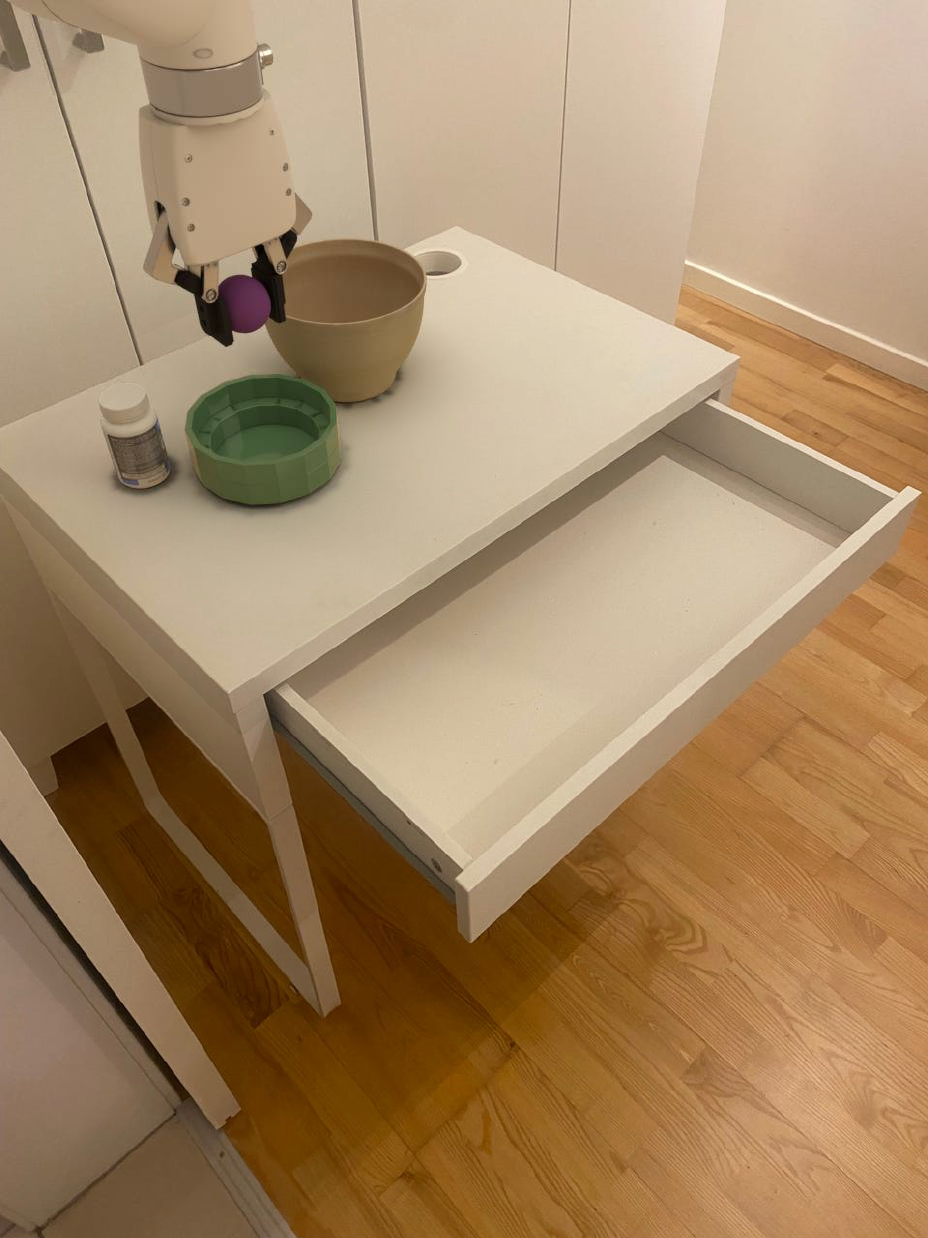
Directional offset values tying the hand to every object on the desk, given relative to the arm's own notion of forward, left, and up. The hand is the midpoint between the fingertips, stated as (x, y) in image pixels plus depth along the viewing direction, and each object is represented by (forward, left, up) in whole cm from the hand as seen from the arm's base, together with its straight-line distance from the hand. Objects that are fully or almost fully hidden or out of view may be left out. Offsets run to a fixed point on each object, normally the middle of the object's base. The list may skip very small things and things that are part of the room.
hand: (245, 324), depth 77 cm
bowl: (-1, +1, -15) cm, 15 cm away
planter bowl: (+1, +16, -15) cm, 22 cm away
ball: (0, 0, +2) cm, 2 cm away
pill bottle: (-11, -4, -15) cm, 19 cm away
